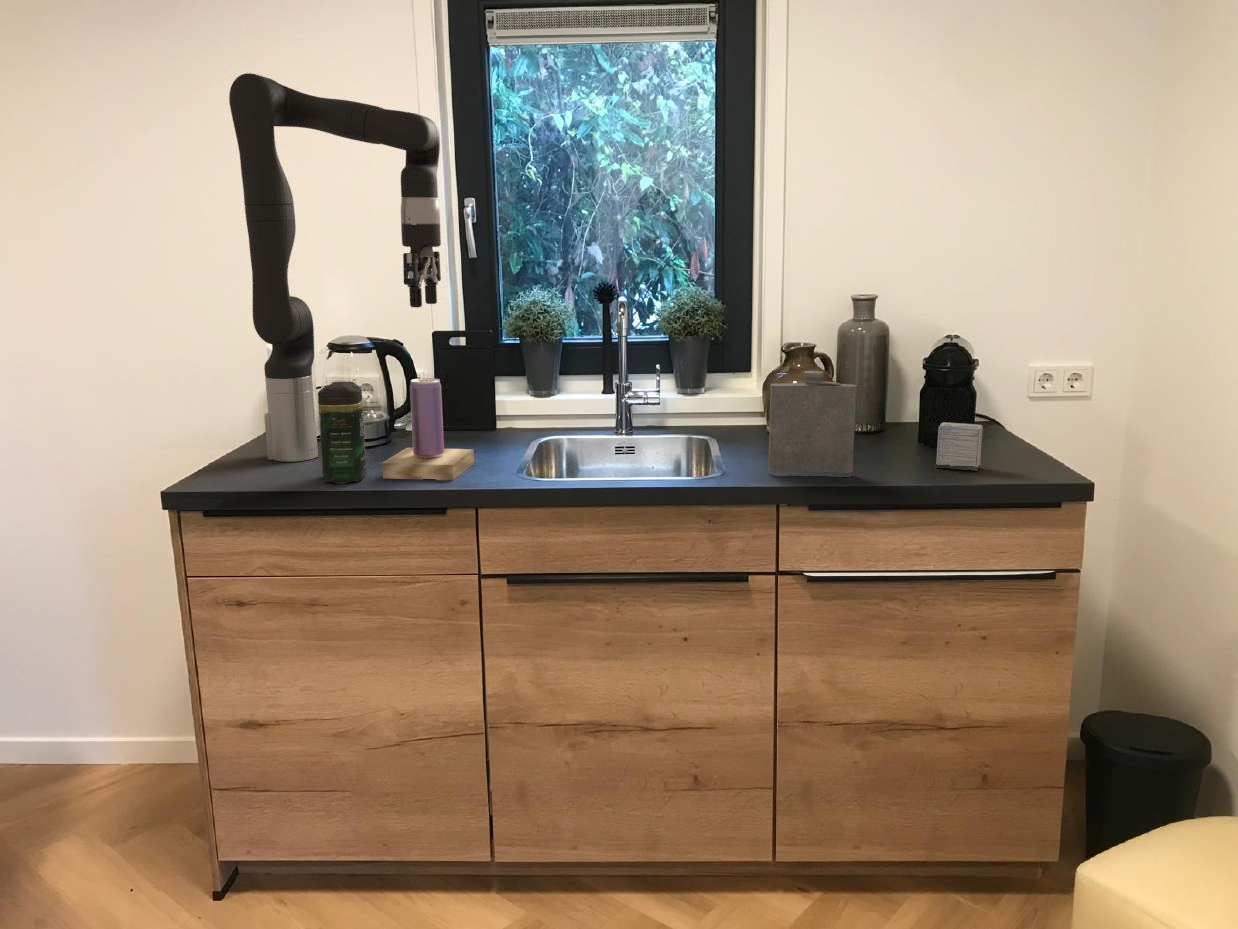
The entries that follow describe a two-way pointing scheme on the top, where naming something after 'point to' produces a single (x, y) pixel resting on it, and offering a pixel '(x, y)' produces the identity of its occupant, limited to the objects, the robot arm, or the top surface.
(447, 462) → the plinth
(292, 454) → the robot arm
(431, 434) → the beverage can
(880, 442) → the top surface
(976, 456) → the medicine box
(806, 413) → the hip flask
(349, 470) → the coffee jar
